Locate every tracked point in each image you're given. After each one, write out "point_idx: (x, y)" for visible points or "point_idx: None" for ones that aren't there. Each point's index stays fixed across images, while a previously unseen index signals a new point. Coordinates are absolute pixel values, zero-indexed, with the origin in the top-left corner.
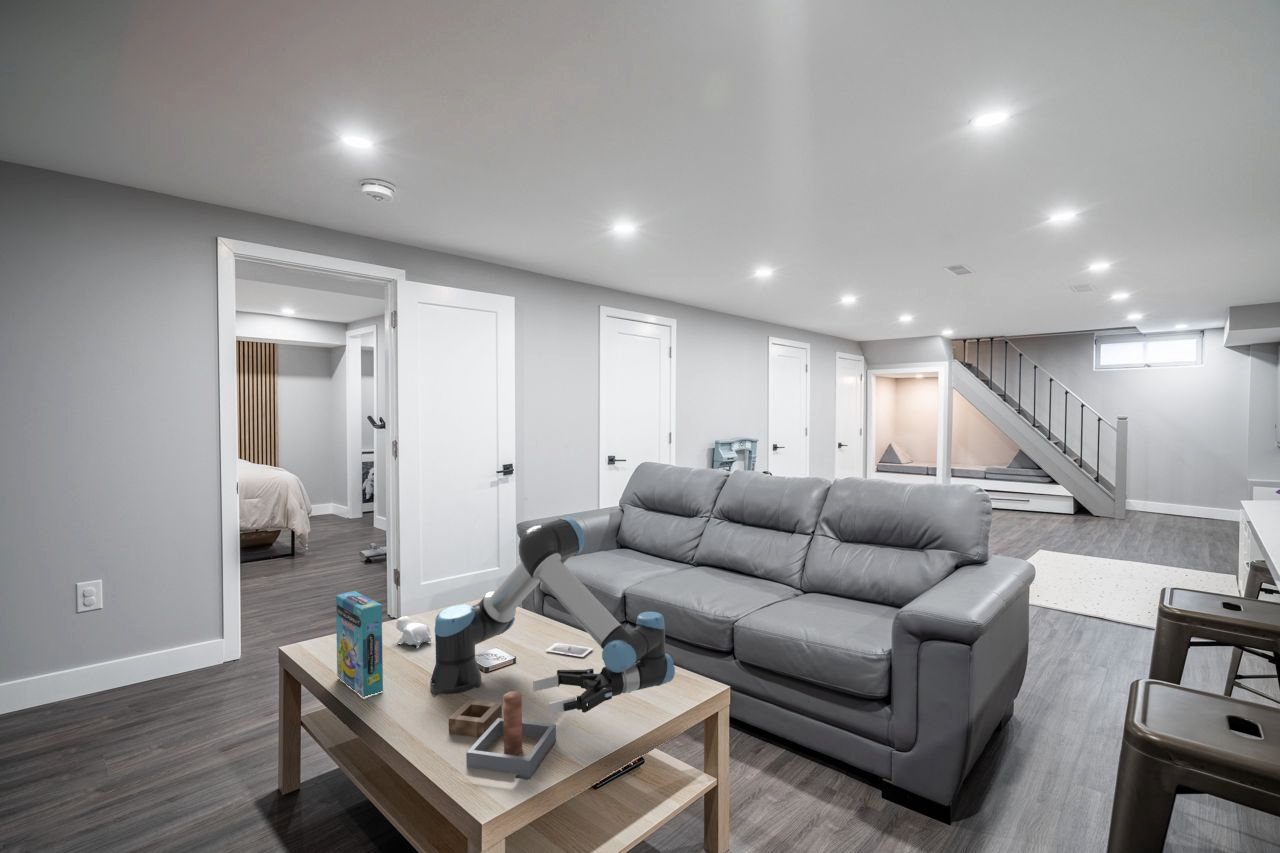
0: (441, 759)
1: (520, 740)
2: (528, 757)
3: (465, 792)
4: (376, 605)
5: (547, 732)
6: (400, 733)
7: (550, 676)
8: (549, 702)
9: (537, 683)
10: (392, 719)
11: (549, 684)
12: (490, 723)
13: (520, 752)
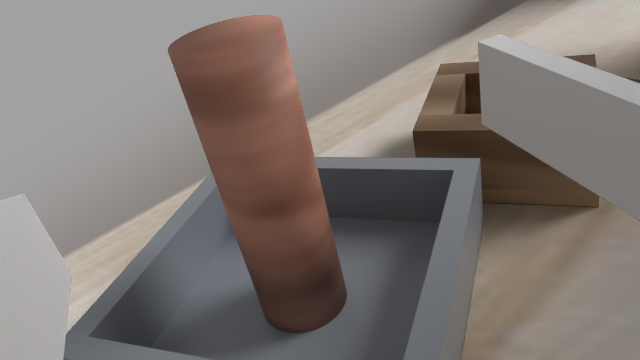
0: (322, 148)
1: (263, 279)
2: (81, 343)
3: (129, 239)
4: None
5: None
6: (458, 58)
7: (622, 80)
8: (20, 195)
9: (495, 75)
10: (525, 29)
11: (579, 150)
12: None
13: (277, 322)
